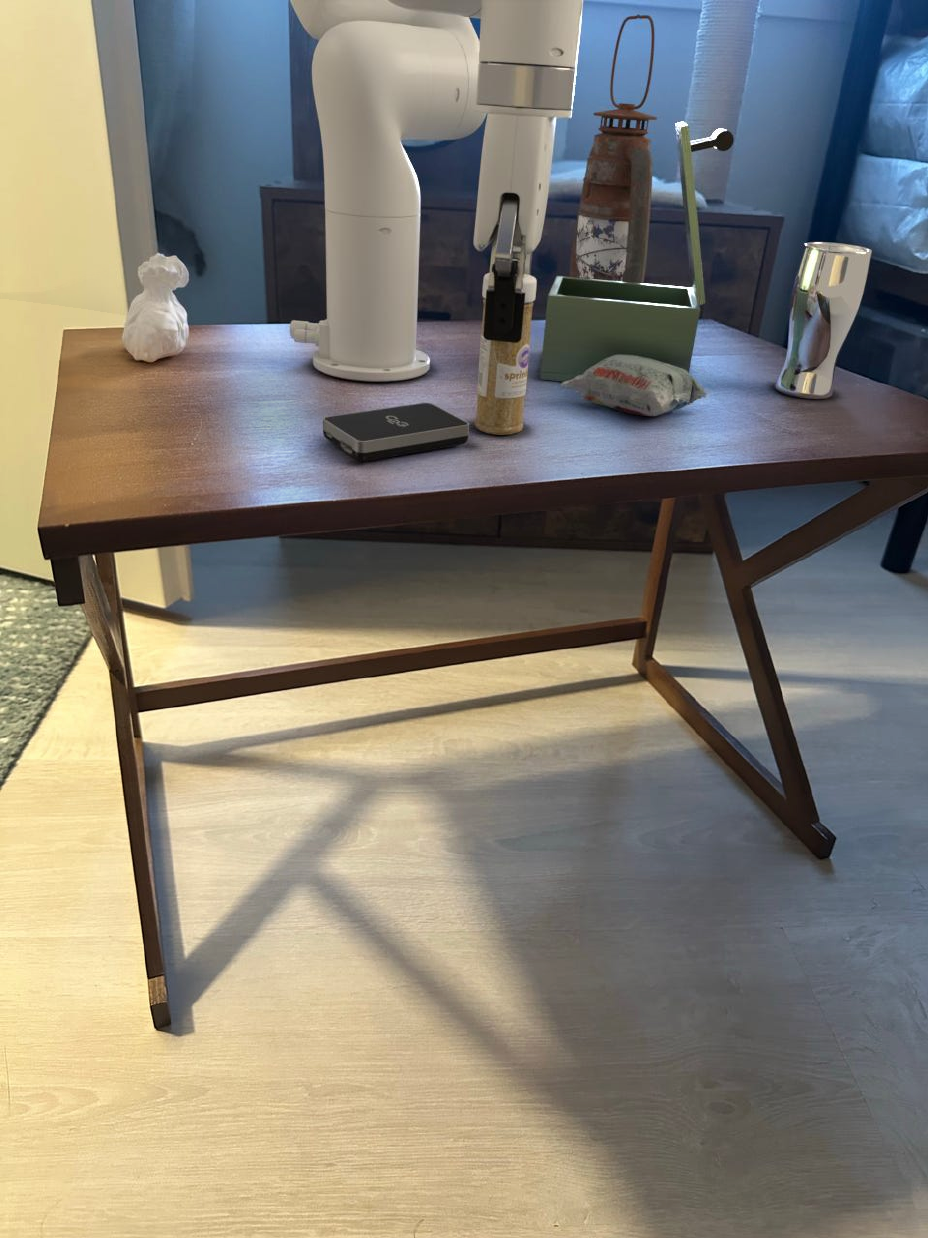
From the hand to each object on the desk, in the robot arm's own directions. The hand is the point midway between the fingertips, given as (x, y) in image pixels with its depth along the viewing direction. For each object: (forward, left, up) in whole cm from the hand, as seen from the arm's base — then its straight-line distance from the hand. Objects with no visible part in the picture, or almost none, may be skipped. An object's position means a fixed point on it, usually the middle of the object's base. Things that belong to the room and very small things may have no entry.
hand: (506, 331), depth 81 cm
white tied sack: (-39, +12, -9) cm, 42 cm away
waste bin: (+10, +24, -9) cm, 27 cm away
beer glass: (+31, +24, -9) cm, 40 cm away
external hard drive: (-8, -7, -9) cm, 14 cm away
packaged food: (+12, +10, -9) cm, 18 cm away
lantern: (+8, +42, -9) cm, 43 cm away
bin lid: (+15, +24, +8) cm, 30 cm away
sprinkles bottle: (0, 0, -9) cm, 9 cm away
